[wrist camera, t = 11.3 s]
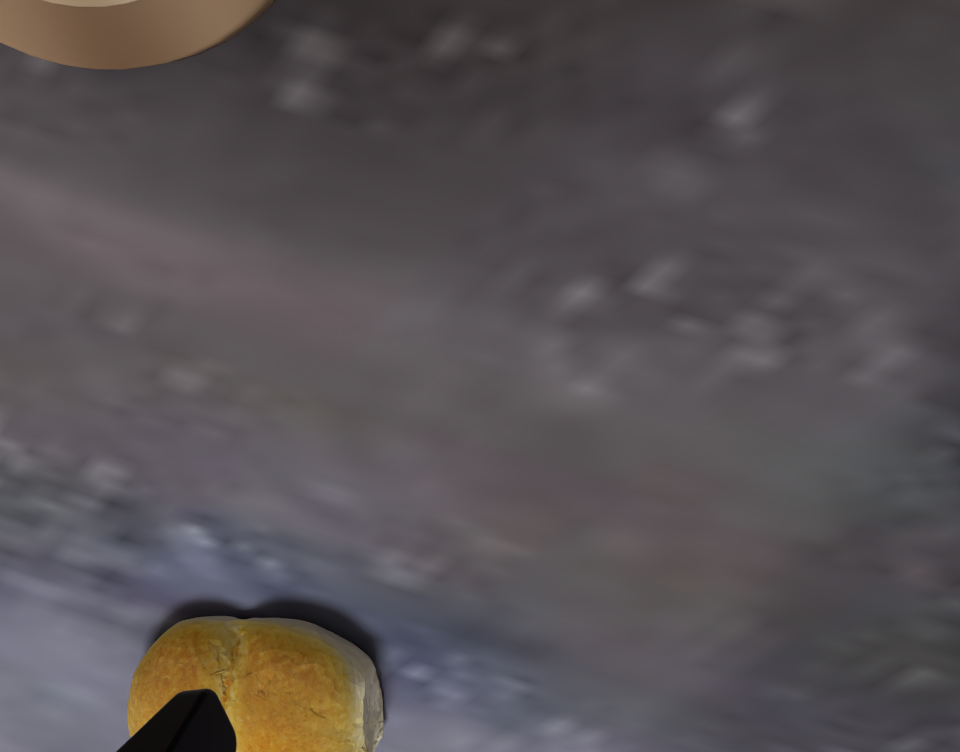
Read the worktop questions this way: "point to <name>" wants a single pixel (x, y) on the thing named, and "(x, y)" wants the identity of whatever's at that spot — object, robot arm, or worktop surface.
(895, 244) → the worktop surface
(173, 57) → the tan round plate
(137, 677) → the bread roll
